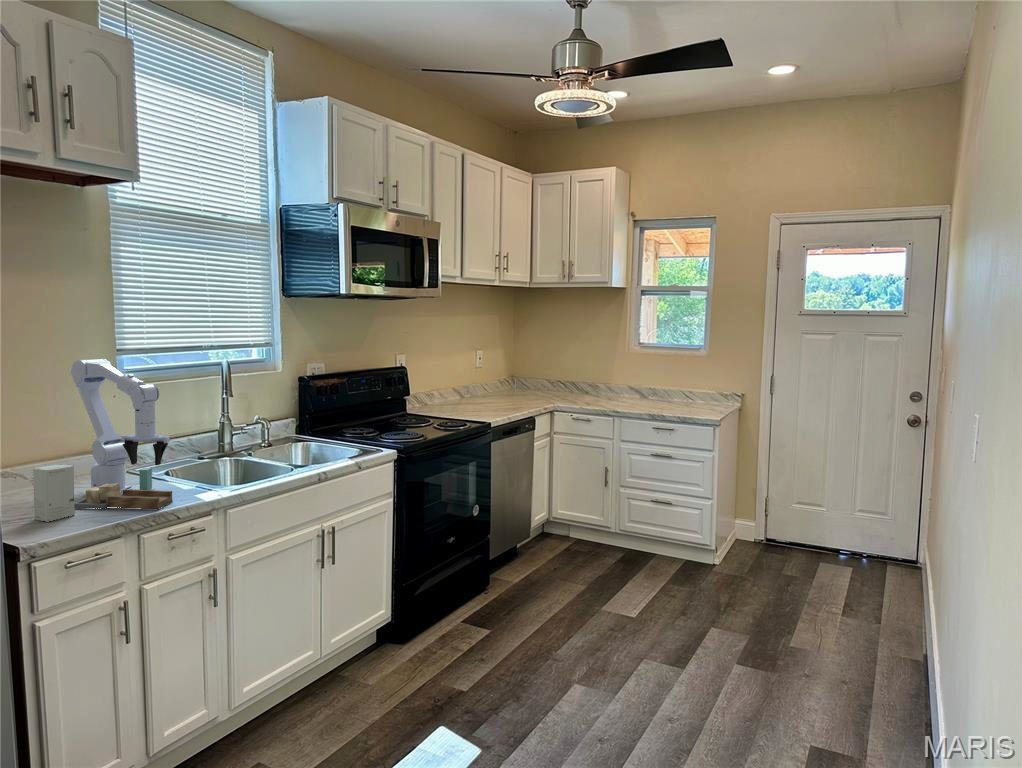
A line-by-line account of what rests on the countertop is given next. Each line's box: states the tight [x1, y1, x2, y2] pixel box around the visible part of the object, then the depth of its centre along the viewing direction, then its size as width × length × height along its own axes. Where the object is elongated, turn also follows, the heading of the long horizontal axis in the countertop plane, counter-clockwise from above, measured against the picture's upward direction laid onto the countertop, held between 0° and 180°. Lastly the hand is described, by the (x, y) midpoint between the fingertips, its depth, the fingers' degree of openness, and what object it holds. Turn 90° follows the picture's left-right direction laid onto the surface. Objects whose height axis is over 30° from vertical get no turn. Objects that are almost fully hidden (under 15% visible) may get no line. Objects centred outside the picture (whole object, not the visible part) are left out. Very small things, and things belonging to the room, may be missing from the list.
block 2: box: [99, 483, 121, 500], centre depth 211 cm, size 4×4×4 cm
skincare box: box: [32, 463, 76, 523], centre depth 196 cm, size 8×6×15 cm
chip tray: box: [74, 493, 122, 510], centre depth 211 cm, size 10×12×2 cm
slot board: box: [108, 488, 173, 510], centre depth 211 cm, size 15×9×4 cm, turn 90°
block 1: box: [85, 487, 106, 503], centre depth 211 cm, size 4×4×4 cm
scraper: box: [138, 467, 156, 490], centre depth 221 cm, size 3×5×9 cm, turn 0°
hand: (146, 464), depth 220 cm, fingers open, 7 cm apart
